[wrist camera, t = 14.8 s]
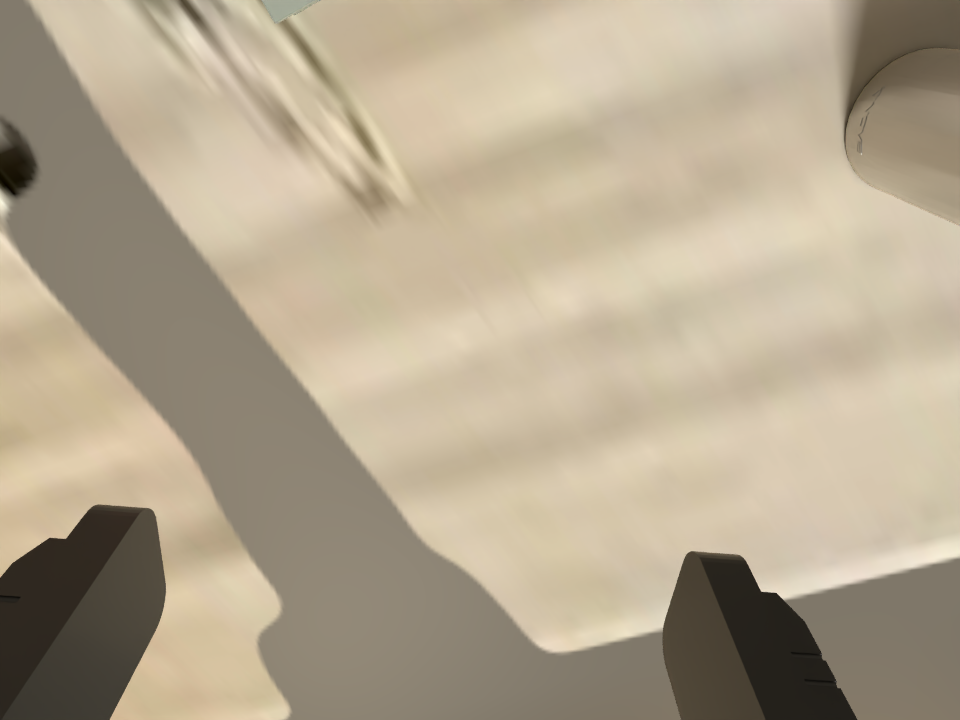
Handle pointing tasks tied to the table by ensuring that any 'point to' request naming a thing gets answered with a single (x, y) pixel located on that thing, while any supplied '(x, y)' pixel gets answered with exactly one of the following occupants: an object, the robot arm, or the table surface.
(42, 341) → the table surface
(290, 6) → the flat pale green panel
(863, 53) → the table surface
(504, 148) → the table surface
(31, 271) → the table surface
